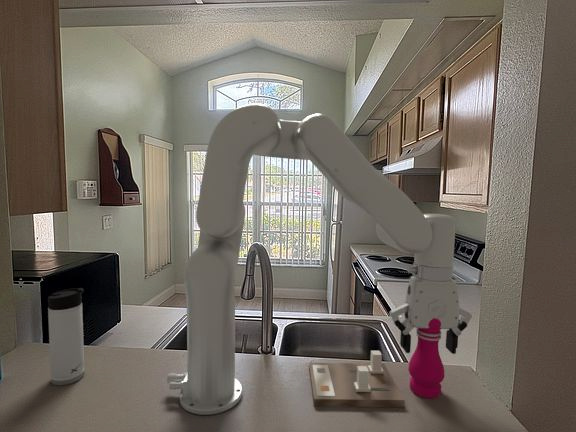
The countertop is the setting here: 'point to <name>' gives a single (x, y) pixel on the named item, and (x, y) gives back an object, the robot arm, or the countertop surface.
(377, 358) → the tab
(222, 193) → the robot arm
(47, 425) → the countertop surface
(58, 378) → the travel mug
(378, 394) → the switch board
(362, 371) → the tab
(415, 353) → the pepper mill
